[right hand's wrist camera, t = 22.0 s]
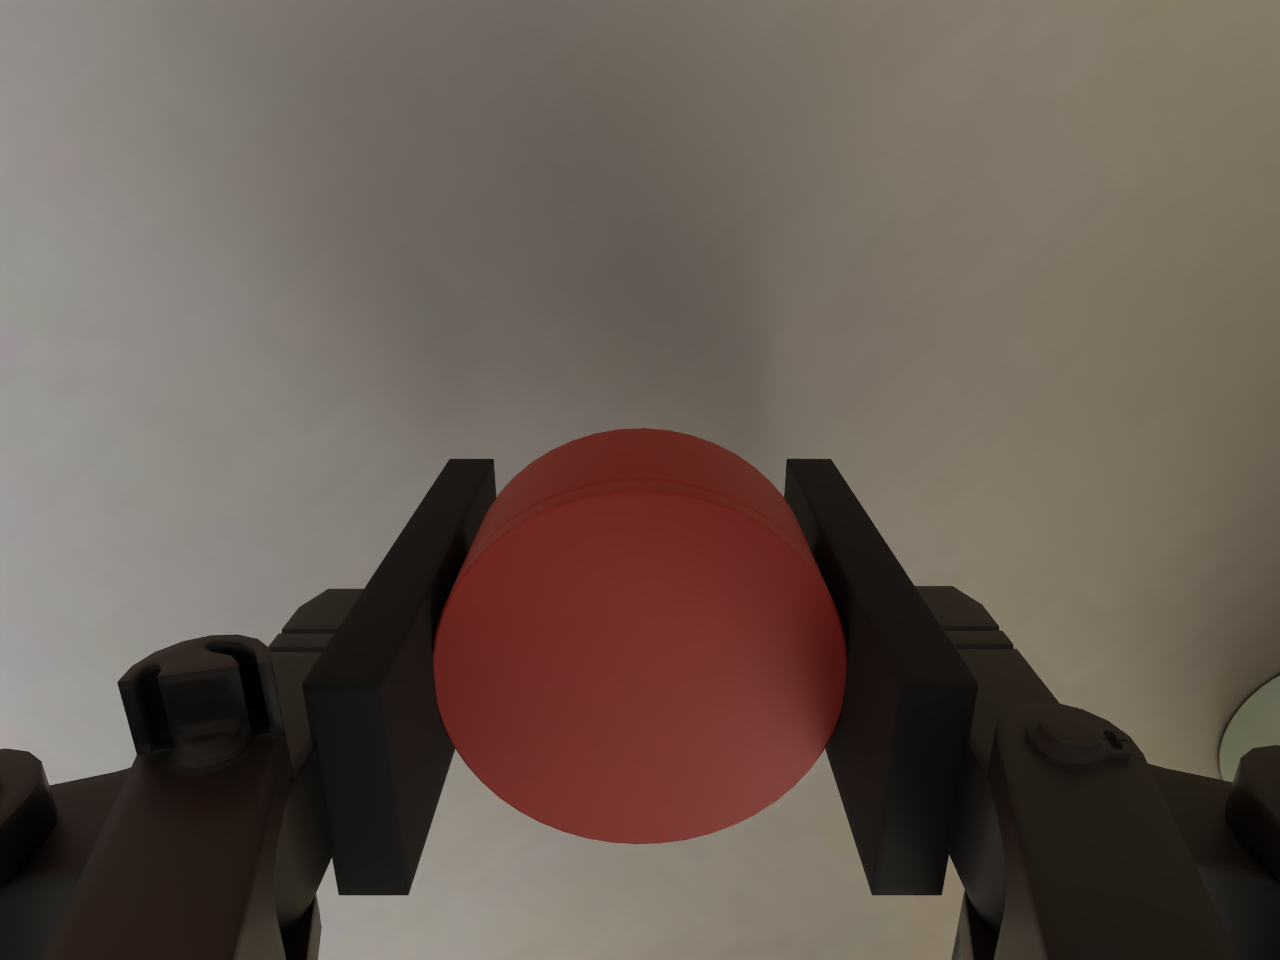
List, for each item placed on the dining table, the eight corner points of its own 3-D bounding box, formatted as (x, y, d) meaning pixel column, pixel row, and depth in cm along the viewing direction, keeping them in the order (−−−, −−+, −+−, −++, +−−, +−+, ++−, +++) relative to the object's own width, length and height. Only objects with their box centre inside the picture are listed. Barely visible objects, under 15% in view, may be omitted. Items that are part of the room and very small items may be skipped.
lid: (864, 646, 13) (912, 751, 10) (579, 774, 13) (567, 896, 11) (714, 361, 11) (732, 410, 9) (402, 528, 12) (345, 613, 10)
